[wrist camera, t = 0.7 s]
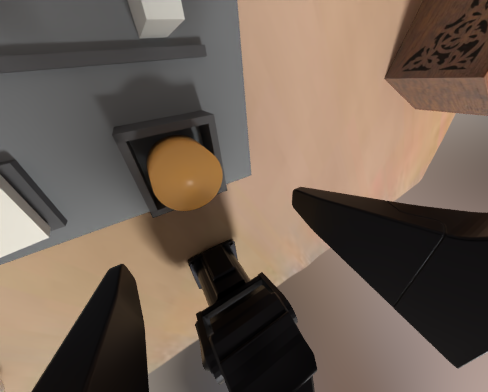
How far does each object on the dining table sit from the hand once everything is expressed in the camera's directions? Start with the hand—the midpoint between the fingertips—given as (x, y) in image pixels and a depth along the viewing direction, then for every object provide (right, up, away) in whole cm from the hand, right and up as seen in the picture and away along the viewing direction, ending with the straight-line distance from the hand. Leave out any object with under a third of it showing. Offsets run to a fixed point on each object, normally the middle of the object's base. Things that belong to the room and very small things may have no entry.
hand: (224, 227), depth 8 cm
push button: (-4, +4, +6) cm, 8 cm away
